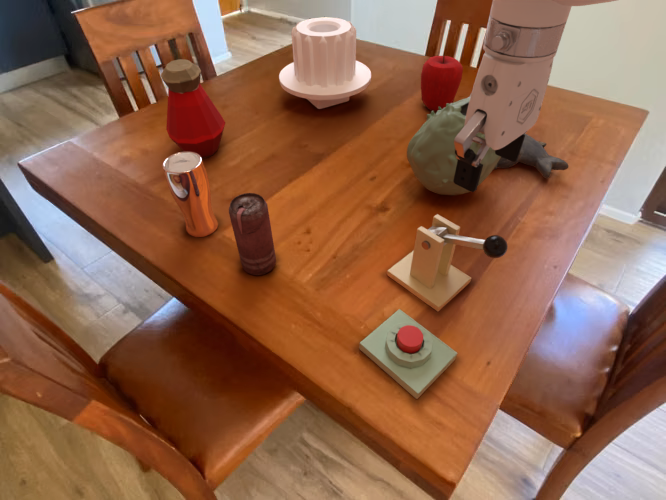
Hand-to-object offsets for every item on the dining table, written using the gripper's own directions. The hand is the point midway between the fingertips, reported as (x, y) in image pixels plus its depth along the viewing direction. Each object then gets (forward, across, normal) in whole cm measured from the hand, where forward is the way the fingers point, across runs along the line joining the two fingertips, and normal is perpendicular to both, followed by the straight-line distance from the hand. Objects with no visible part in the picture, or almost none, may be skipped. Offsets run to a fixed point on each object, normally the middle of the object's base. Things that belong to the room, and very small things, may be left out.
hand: (485, 171), depth 58 cm
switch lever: (+12, -3, -2) cm, 12 cm away
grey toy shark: (+22, +39, +15) cm, 48 cm away
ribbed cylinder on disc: (+22, +30, +66) cm, 76 cm away
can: (+22, -22, +27) cm, 41 cm away
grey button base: (+23, -17, -3) cm, 28 cm away
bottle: (+22, -9, +68) cm, 72 cm away
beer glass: (+22, -24, +43) cm, 54 cm away
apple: (+22, +48, +41) cm, 67 cm away
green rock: (+22, +20, +17) cm, 35 cm away
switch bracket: (+22, -3, +4) cm, 23 cm away
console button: (+20, -17, -3) cm, 26 cm away
